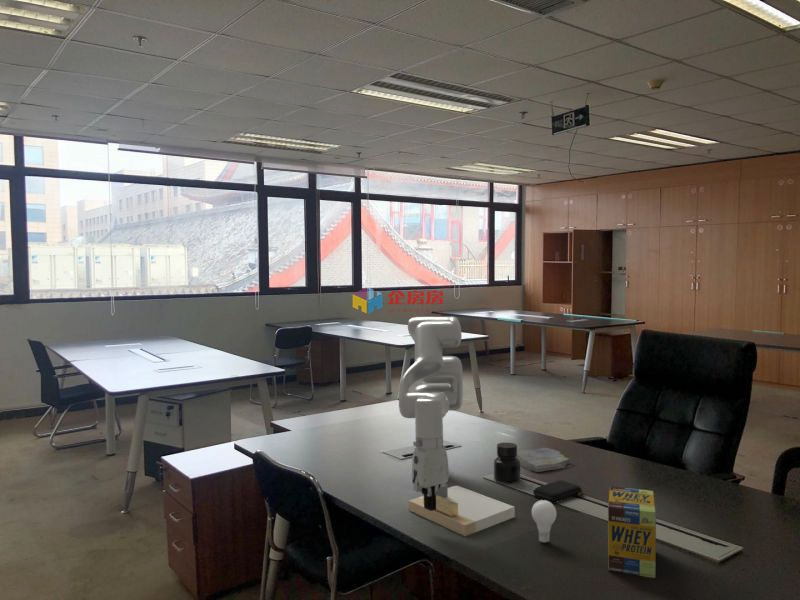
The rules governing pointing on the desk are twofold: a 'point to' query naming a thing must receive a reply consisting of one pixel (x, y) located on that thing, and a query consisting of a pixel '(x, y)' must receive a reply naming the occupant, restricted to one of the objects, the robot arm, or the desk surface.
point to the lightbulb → (544, 518)
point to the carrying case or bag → (557, 491)
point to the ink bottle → (507, 463)
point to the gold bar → (445, 506)
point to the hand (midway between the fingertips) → (430, 508)
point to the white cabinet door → (465, 510)
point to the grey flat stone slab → (542, 459)
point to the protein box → (631, 531)
